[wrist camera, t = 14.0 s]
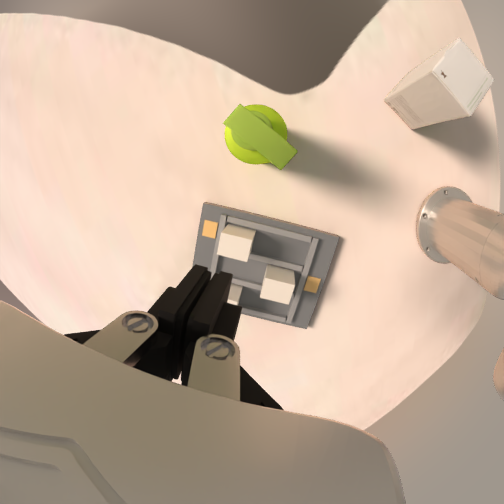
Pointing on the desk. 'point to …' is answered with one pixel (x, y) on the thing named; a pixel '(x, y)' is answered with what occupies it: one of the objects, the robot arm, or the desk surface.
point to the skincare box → (441, 87)
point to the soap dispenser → (258, 136)
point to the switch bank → (268, 261)
